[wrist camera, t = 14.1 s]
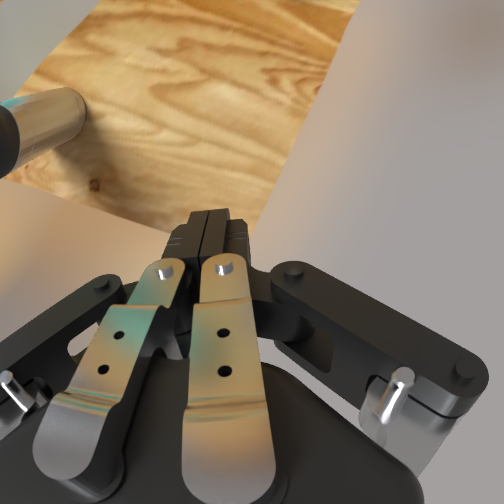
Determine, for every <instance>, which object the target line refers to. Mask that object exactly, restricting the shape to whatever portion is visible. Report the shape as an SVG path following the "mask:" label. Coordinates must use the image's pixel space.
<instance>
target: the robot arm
mask: <svg viewBox="0 0 504 504" xmlns="http://www.w3.org/2000/svg"><path fill="white" fill-rule="evenodd" d="M85 118H86V108H85V104H84V101H83V99H82V97H81V96H80V95H79V93H78V92H76V91H75V90H73V89H71V88H58V89H53V90H48V91H43V92H38V93H34V94H29V95H25V96H21V97H17V98H13V99H9V100H6V101H3V102H0V179H1V178H3V177H4V176H6V175H7V174H9V173H11V172H12V171H14V170H16V169H17V168H19V167H21V166H22V165H24V164H26V163H27V162H29V161H31V160H33V159H34V158H36V157H38V156H40V155H42V154H44V153H46V152H47V151H49V150H51V149H53V148H55V147H57V146H59V145H61V144H63V143H65V142H67V141H69V140H71V139H73V138H75V137H76V136H77V135H78V134H79V132H80V131H81V130H82V128H83V126H84V122H85ZM95 322H97V324H98V326H99V327H98V329H97V331H96V333H95V335H94V337H93V339H92V340H91V342H90V344H89V346H88V347H87V348H85V349H84V350H83V351H81V352H80V353H79V354H77V355H75V356H70V355H69V353H68V350H67V347H68V344H69V342H70V341H71V340H72V339H73V338H74V337H76V336H77V335H78V334H80V333H81V332H83V331H84V330H85V329H87V328H88V327H90V326H91V325H92V324H94V323H95ZM257 337H261V338H266V339H272V340H274V344H275V346H276V347H277V348H278V349H279V350H280V351H281V352H283V353H284V354H285V355H286V356H288V357H289V358H290V359H292V360H293V361H294V362H295V363H297V364H298V365H299V366H301V367H302V368H303V369H305V370H306V371H307V372H309V373H310V374H311V375H312V376H314V377H315V378H316V379H318V380H319V381H320V382H322V383H323V384H324V385H326V386H327V387H328V388H330V389H331V390H332V391H334V392H335V393H337V394H338V395H339V396H341V397H342V398H343V399H345V400H346V401H348V402H349V403H350V404H352V405H353V406H355V407H356V408H357V409H359V410H360V412H359V423H360V426H361V428H362V430H363V431H364V432H365V433H366V434H367V435H368V436H369V437H370V438H371V439H370V438H369V437H368V436H367V435H365V434H364V433H363V432H361V431H360V430H359V429H358V428H356V427H355V426H354V425H353V424H351V423H350V422H349V421H348V420H346V419H345V418H344V417H343V416H341V415H340V414H339V413H338V412H336V411H335V410H334V409H333V408H331V407H330V406H329V405H328V404H327V403H325V402H324V401H323V400H322V399H321V398H319V397H318V396H317V395H316V394H315V393H313V392H312V391H311V390H310V389H309V388H307V387H306V386H305V385H304V384H303V383H302V382H301V381H299V380H298V379H297V378H296V377H294V376H293V375H291V374H290V373H288V372H287V371H285V370H283V369H281V368H279V367H276V366H274V365H271V364H268V363H264V362H260V356H259V349H258V342H257ZM488 381H489V374H488V370H487V367H486V365H485V364H484V362H483V361H482V360H481V359H480V358H479V357H478V356H477V355H475V354H474V353H471V352H470V351H468V350H466V349H465V348H463V347H461V346H459V345H457V344H456V343H454V342H452V341H450V340H448V339H447V338H445V337H443V336H441V335H439V334H438V333H436V332H434V331H432V330H430V329H429V328H427V327H425V326H423V325H421V324H419V323H418V322H416V321H414V320H412V319H410V318H409V317H407V316H405V315H403V314H401V313H399V312H398V311H396V310H394V309H392V308H390V307H388V306H386V305H385V304H383V303H381V302H379V301H377V300H375V299H374V298H372V297H370V296H368V295H366V294H364V293H362V292H361V291H359V290H357V289H355V288H353V287H351V286H349V285H348V284H346V283H344V282H342V281H340V280H338V279H336V278H334V277H333V276H330V275H329V274H327V273H325V272H323V271H321V270H319V269H318V268H315V267H314V266H312V265H310V264H308V263H305V262H301V261H287V262H283V263H280V264H278V265H276V266H275V267H274V268H273V269H272V270H271V272H270V273H268V272H262V271H258V270H256V269H254V268H253V267H252V266H251V255H250V246H249V236H248V226H247V223H246V222H245V221H244V220H243V219H234V220H230V213H229V209H228V208H225V209H214V210H205V211H195V212H191V214H190V217H189V219H188V222H187V224H182V225H179V226H178V227H177V228H175V229H174V230H173V231H172V233H171V236H170V238H169V241H168V243H167V246H166V248H165V250H164V253H163V255H162V258H161V260H158V261H155V262H154V263H152V264H150V265H149V266H148V267H147V268H146V269H145V271H144V273H143V274H142V276H141V278H140V280H139V281H137V282H133V283H129V284H126V285H123V284H122V281H121V279H120V277H119V276H117V275H113V274H107V275H102V276H99V277H97V278H95V279H93V280H91V281H90V282H88V283H87V284H85V285H83V286H82V287H80V288H79V289H77V290H76V291H74V292H73V293H71V294H70V295H68V296H67V297H65V298H64V299H62V300H61V301H59V302H58V303H56V304H55V305H53V306H52V307H50V308H49V309H47V310H46V311H44V312H43V313H41V314H40V315H38V316H37V317H36V318H34V319H33V320H31V321H30V322H28V323H27V324H26V325H24V326H23V327H21V328H20V329H18V330H17V331H16V332H14V333H13V334H11V335H10V336H9V337H7V338H6V339H4V340H3V341H2V342H0V504H424V495H423V491H422V487H421V485H420V483H419V481H418V479H417V478H418V477H419V475H420V474H421V472H422V471H423V470H424V469H425V467H426V466H427V464H428V463H429V462H430V460H431V459H432V457H433V456H434V455H435V453H436V452H437V450H438V449H439V447H440V446H441V444H442V443H443V441H444V440H445V438H446V437H447V436H448V434H449V433H450V432H451V431H452V430H453V429H454V427H455V426H456V425H457V424H458V423H459V422H460V421H461V419H462V418H463V417H464V416H465V415H466V413H467V412H468V411H469V410H470V408H471V407H472V406H473V404H474V403H475V402H476V401H477V399H478V398H479V397H480V395H481V394H482V392H483V391H484V390H485V388H486V386H487V384H488Z"/></svg>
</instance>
